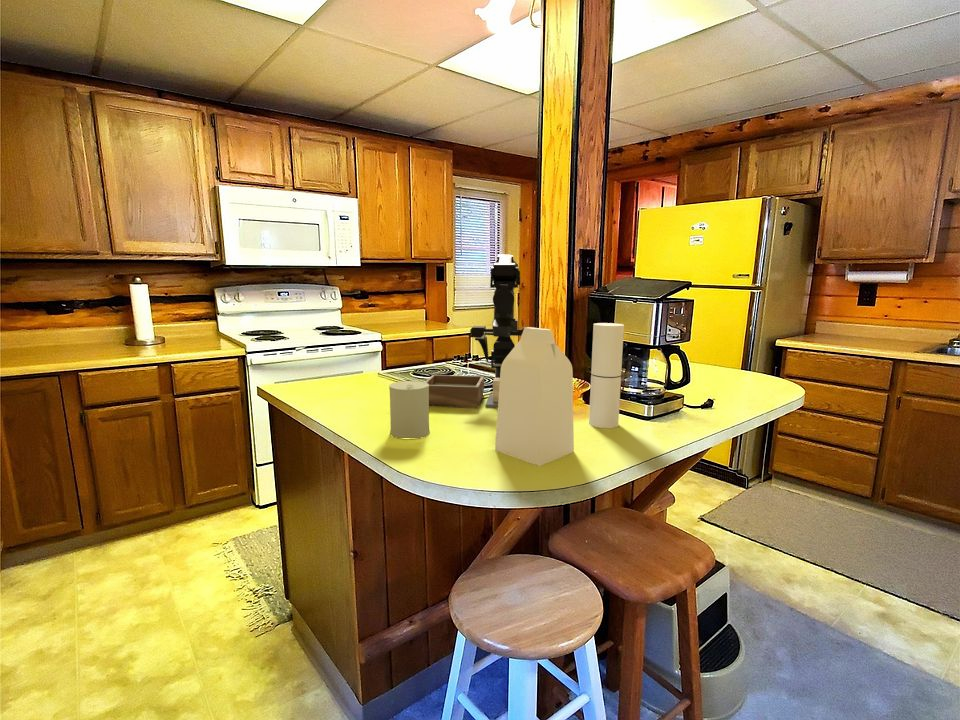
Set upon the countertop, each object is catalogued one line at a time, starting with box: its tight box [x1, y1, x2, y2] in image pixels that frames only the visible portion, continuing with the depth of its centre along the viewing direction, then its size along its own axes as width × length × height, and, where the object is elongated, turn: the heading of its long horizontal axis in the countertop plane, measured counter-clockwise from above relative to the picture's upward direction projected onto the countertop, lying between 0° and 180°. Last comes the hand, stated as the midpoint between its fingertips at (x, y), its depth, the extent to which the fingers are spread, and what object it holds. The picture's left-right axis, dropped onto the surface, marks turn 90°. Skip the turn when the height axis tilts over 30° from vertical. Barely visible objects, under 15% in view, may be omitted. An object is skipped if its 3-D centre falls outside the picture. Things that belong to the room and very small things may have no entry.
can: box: [388, 380, 431, 439], centre depth 115 cm, size 9×9×12 cm
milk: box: [494, 326, 575, 467], centre depth 103 cm, size 12×12×26 cm
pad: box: [485, 393, 498, 409], centre depth 145 cm, size 12×8×1 cm, turn 173°
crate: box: [424, 374, 485, 409], centre depth 146 cm, size 15×16×6 cm
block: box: [492, 377, 500, 402], centre depth 144 cm, size 5×5×6 cm
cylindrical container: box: [588, 322, 625, 429], centre depth 122 cm, size 7×7×25 cm
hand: (503, 361), depth 144 cm, fingers open, 9 cm apart
